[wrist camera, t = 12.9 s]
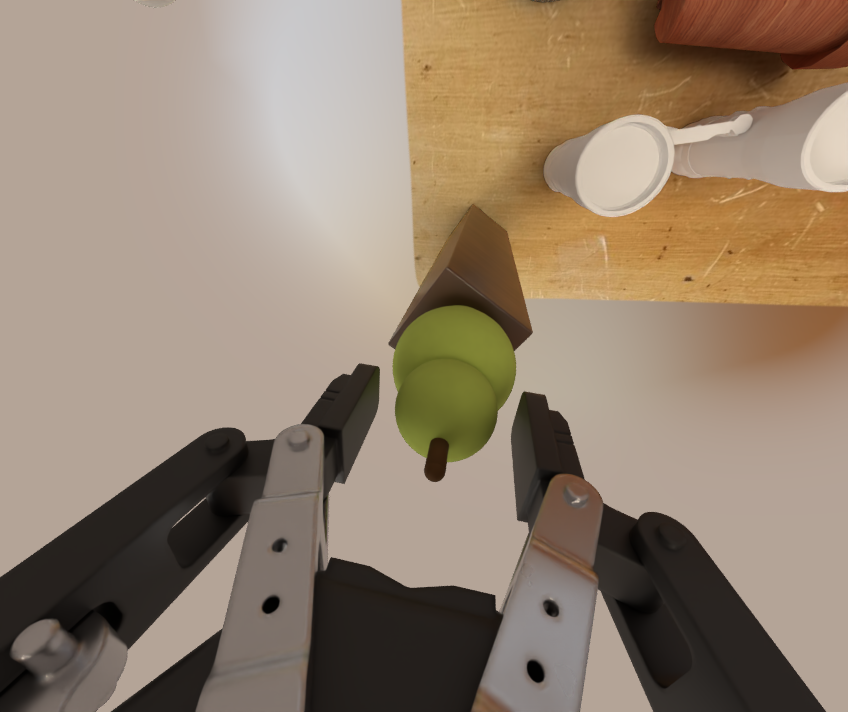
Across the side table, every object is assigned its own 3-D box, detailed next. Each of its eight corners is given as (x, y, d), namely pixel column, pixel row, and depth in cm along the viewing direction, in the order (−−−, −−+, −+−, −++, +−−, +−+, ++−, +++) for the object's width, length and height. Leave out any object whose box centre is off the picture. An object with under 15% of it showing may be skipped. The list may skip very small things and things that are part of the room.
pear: (388, 344, 18) (313, 477, 10) (448, 265, 15) (408, 364, 8) (466, 398, 18) (450, 557, 11) (535, 332, 16) (576, 481, 8)
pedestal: (446, 240, 42) (387, 344, 18) (473, 203, 39) (446, 266, 15) (479, 266, 42) (465, 398, 18) (507, 231, 40) (533, 333, 16)
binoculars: (732, 110, 31) (966, 58, 16) (716, 176, 34) (904, 185, 19) (539, 141, 35) (579, 123, 20) (538, 198, 38) (572, 221, 22)
